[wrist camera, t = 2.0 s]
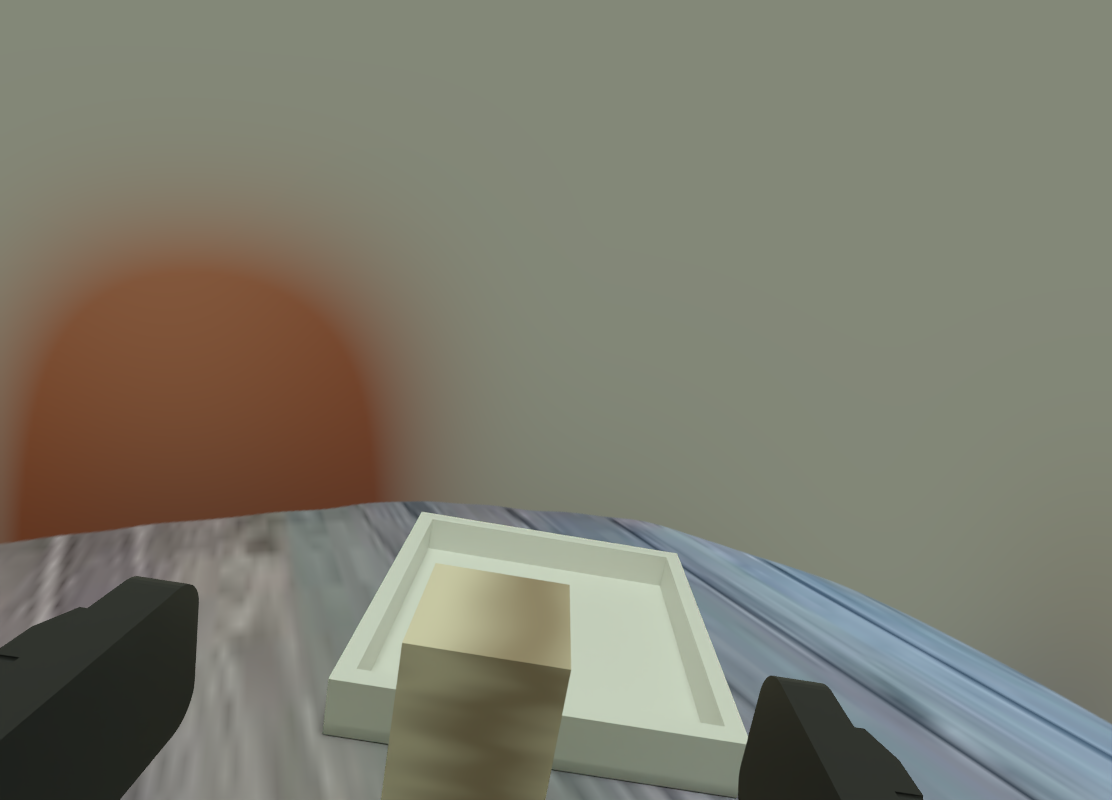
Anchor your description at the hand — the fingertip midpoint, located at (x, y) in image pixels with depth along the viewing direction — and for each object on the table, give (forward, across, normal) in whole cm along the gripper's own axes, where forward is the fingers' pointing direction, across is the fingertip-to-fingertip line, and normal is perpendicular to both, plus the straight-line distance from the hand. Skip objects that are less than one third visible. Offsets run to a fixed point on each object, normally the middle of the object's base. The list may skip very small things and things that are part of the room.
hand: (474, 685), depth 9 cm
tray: (+28, -3, +17) cm, 33 cm away
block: (+11, 0, +18) cm, 21 cm away
